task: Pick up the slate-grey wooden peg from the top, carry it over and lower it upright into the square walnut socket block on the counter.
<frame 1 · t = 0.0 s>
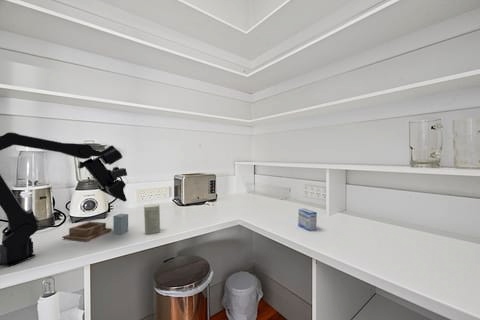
hand: (121, 199, 88), 15 cm above the worktop, tool tilted 35°, fingers open, 9 cm apart
skincare box: (152, 232, 89), on the worktop
slate peg: (121, 232, 88), on the worktop
walnut socket: (88, 234, 85), on the worktop
medicine box: (307, 228, 95), on the worktop
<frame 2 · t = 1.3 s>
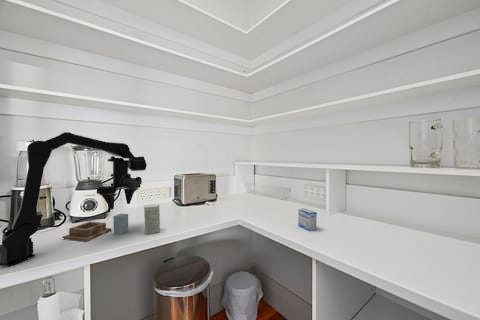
hand: (120, 206, 87), 12 cm above the worktop, tool pointing down, fingers open, 9 cm apart
nothing on the worktop moved.
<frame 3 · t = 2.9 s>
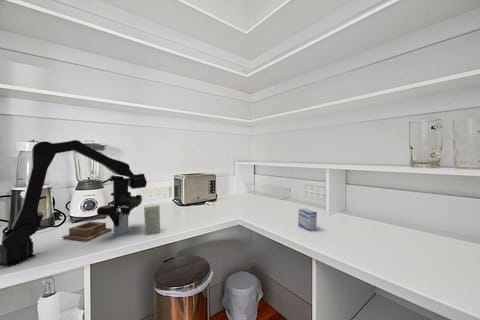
hand: (121, 224, 88), 4 cm above the worktop, tool pointing down, fingers closed on slate peg, 4 cm apart
slate peg: (121, 232, 88), on the worktop, touching gripper
everything else where it was.
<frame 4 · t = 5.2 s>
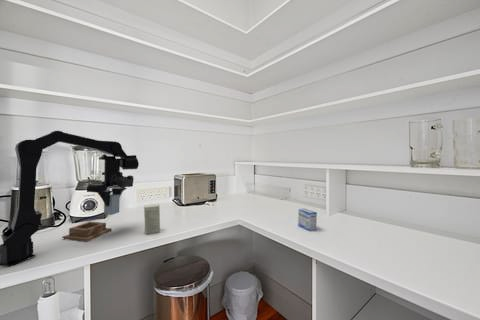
hand: (111, 205, 86), 13 cm above the worktop, tool pointing down, fingers closed on slate peg, 4 cm apart
slate peg: (111, 213, 86), point 9 cm above the worktop, touching gripper
everything else where it was.
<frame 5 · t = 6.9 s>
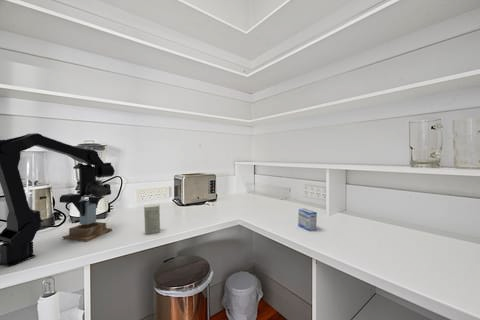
hand: (88, 214, 85), 9 cm above the worktop, tool pointing down, fingers closed on slate peg, 4 cm apart
slate peg: (88, 222, 85), point 5 cm above the worktop, touching gripper
everything else where it was.
when the fingers open (5 cm above the worktop, at t = 8.0 s): slate peg stays where it is, resting on walnut socket.
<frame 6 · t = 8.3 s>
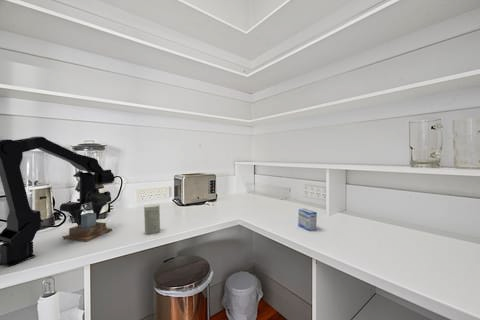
hand: (88, 222, 85), 5 cm above the worktop, tool pointing down, fingers open, 7 cm apart
slate peg: (88, 232, 85), point 1 cm above the worktop, touching walnut socket
everything else where it was.
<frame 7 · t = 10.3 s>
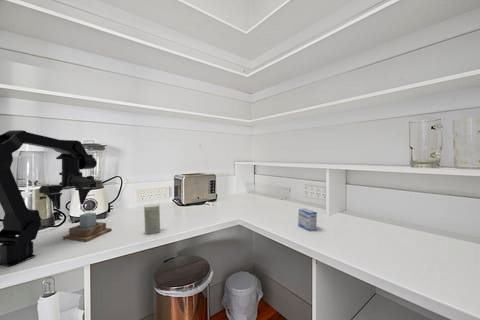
hand: (70, 206, 83), 13 cm above the worktop, tool pointing down, fingers open, 9 cm apart
nothing on the worktop moved.
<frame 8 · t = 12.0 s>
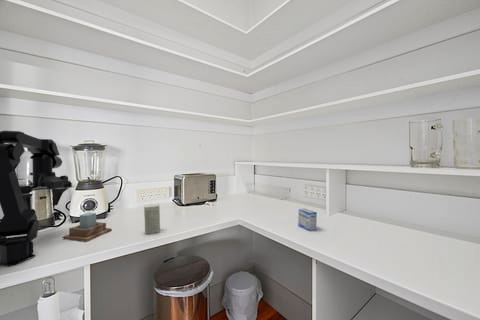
hand: (43, 208, 80), 13 cm above the worktop, tool pointing down, fingers open, 9 cm apart
nothing on the worktop moved.
at the end: slate peg 0.0 cm off-centre on the walnut socket, point 1.0 cm above the walnut socket's base; slate peg tilted 0°; the gripper is holding nothing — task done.
